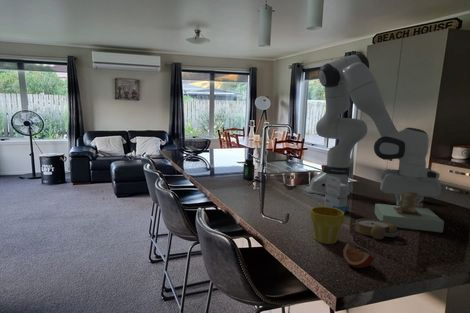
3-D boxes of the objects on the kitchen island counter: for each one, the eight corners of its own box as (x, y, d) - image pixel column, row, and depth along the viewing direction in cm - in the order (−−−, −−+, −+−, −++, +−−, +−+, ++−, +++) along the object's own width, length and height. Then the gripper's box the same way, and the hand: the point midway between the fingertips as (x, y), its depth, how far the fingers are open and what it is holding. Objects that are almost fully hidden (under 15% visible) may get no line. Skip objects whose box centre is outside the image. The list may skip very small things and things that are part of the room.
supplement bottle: (246, 180, 185) (247, 160, 183) (241, 178, 191) (241, 158, 189) (256, 179, 188) (257, 160, 187) (250, 177, 194) (251, 158, 193)
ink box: (346, 212, 130) (349, 178, 128) (338, 213, 128) (340, 178, 126) (332, 206, 138) (335, 174, 136) (323, 207, 136) (326, 174, 134)
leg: (400, 222, 119) (404, 192, 117) (397, 218, 124) (400, 189, 122) (413, 223, 118) (417, 193, 116) (410, 219, 123) (413, 190, 121)
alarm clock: (372, 217, 116) (407, 224, 102) (372, 230, 116) (407, 239, 102) (348, 220, 112) (381, 227, 98) (348, 233, 112) (381, 243, 98)
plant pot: (304, 233, 105) (306, 205, 104) (334, 233, 106) (336, 206, 105) (315, 246, 95) (317, 216, 94) (347, 246, 96) (350, 216, 94)
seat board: (382, 225, 116) (383, 214, 115) (374, 212, 131) (375, 202, 130) (442, 232, 111) (444, 220, 110) (427, 218, 126) (428, 208, 125)
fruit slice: (337, 260, 87) (338, 243, 86) (356, 256, 89) (357, 240, 89) (358, 275, 79) (360, 256, 78) (378, 270, 82) (380, 253, 81)
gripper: (383, 170, 117) (379, 205, 119) (444, 174, 112) (439, 211, 114) (380, 167, 123) (376, 200, 125) (438, 171, 118) (433, 206, 120)
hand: (407, 205), depth 120 cm, fingers closed on leg, 4 cm apart
